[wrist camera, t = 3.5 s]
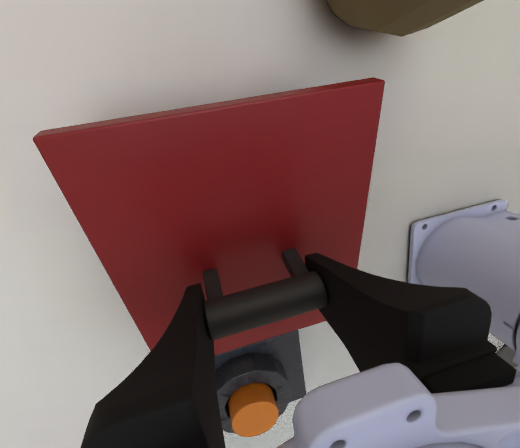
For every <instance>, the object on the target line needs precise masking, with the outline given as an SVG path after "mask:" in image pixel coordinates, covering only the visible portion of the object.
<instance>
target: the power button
mask: <svg viewBox="0 0 520 448" xmlns="http://www.w3.org/2000/svg"><path fill="white" fill-rule="evenodd" d="M228 406H229V412H230V418H231V425H232V429H233V430H234V432H235V433H236V434H238V435H240V436H243V437H253V436H257V435H260V434H262V433H264V432H266V431H268V430H269V429H270V428H271V427H272V426H273V425H274V424H275V423H276V421H277V419H278V415H279V411H278V408H277V404H276V401H275V398H274V395H273V392H272V390H271V388H270V387H269V386H268V385H266V384H264V383H257V382H254V383H251V384H248V385H245V386H242V387H240V388H238V389H237V390H236V391H235V392H234V393H233V394H232V395H231V397H230V399H229V403H228Z"/></svg>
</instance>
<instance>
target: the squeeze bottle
mask: <svg viewBox="0 0 520 448" xmlns="http://www.w3.org/2000/svg"><path fill="white" fill-rule="evenodd" d="M481 1H483V0H327V2H328V4H329V6H330V8H331V10H332V11H333V13H334V14H335V15H336V16H337V17H339V18H340V19H341V20H342V21H344V22H345V23H346V24H347V25H349V26H354V27H358V28H363V29H367V30H372V31H377V32H382V33H387V34H392V35H397V36H405V35H408V34H411V33H414V32H417V31H420V30H423V29H426V28H428V27H430V26H432V25H434V24H436V23H439V22H441V21H443V20H445V19H447V18H449V17H451V16H453V15H455V14H457V13H459V12H461V11H463V10H465V9H467V8H469V7H471V6H473V5H475V4H477V3H479V2H481Z"/></svg>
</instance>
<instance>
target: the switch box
mask: <svg viewBox="0 0 520 448" xmlns="http://www.w3.org/2000/svg"><path fill="white" fill-rule="evenodd" d="M215 375H216V389H217V397H218V403H219V410H220V417H221V423H222V429H223V430H224V431H226V432H228V433H235V432H234V430H233V429H232V425H231V418H230V412H229V406H228V403H229V399H230V397H231V395H232V394H233V393H234V392H235V391H236V390H237V389H238V388H240V387H242V386H245V385H248V384H251V383H254V382H257V383H264V384H266V385H268V386H269V387H270V388H271V390H272V392H273V395H274V398H275V401H276V404H277V408H278V411H279V415H278V417H279V416H280V415H281V414H282V413H283V412H284V411H285V409H286V407H287V405H288V403H289V402H291V401H294V400H297V399H300V398H303V397H304V396H305V394H306V390H305V382H304V374H303V366H302V358H301V351H300V343H299V335H298V330H295V331H291V332H288V333H285V334H282V335H279V336H275V337H272V338H269V339H266V340H262V341H259V342H256V343H253V344H250V345H246V346H243V347H240V348H237V349H234V350H230V351H227V352H224V353H221V354H218V355H215Z"/></svg>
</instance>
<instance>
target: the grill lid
mask: <svg viewBox="0 0 520 448" xmlns="http://www.w3.org/2000/svg"><path fill="white" fill-rule="evenodd" d="M384 84H385V81H384V80H381V79H377V78H367V79H361V80H355V81H349V82H342V83H336V84H330V85H324V86H317V87H311V88H305V89H299V90H293V91H286V92H280V93H274V94H268V95H261V96H255V97H249V98H243V99H237V100H230V101H224V102H218V103H212V104H205V105H199V106H193V107H187V108H181V109H174V110H168V111H162V112H156V113H149V114H143V115H137V116H131V117H125V118H118V119H112V120H106V121H100V122H93V123H87V124H81V125H75V126H68V127H62V128H56V129H50V130H44V131H40V132H39V133H38V134H37V135H36V136H35V137H33V141H34V143H35V144H36V146H37V148H38V150H39V151H40V153H41V155H42V157H43V159H44V160H45V162H46V164H47V166H48V168H49V169H50V171H51V173H52V175H53V177H54V178H55V180H56V182H57V184H58V186H59V187H60V189H61V191H62V193H63V195H64V196H65V198H66V200H67V202H68V203H69V205H70V207H71V209H72V211H73V212H74V214H75V216H76V218H77V220H78V221H79V223H80V225H81V227H82V229H83V230H84V232H85V234H86V236H87V238H88V239H89V241H90V243H91V245H92V247H93V248H94V250H95V252H96V254H97V255H98V257H99V259H100V261H101V263H102V264H103V266H104V268H105V270H106V272H107V273H108V275H109V277H110V279H111V281H112V282H113V284H114V286H115V288H116V290H117V291H118V293H119V295H120V297H121V299H122V300H123V302H124V304H125V306H126V307H127V309H128V311H129V313H130V315H131V316H132V318H133V320H134V322H135V324H136V325H137V327H138V329H139V331H140V333H141V334H142V336H143V338H144V340H145V342H146V343H147V345H148V347H149V349H150V351H151V350H152V349H153V348H154V347H155V345H156V344H157V343H158V341H159V340H160V338H161V337H162V335H163V334H164V332H165V331H166V329H167V327H168V325H169V324H170V322H171V320H172V318H173V317H174V315H175V313H176V310H177V308H178V306H179V304H180V302H181V300H182V297H183V295H184V292H185V289H186V288H187V286H191V285H195V284H198V283H201V286H202V290H203V293H204V297H205V301H204V304H203V306H204V313H205V318H206V323H207V327H208V331H209V335H210V338H211V339H212V340H214V355H218V354H221V353H224V352H227V351H230V350H234V349H237V348H240V347H243V346H246V345H250V344H253V343H256V342H259V341H262V340H266V339H269V338H272V337H275V336H279V335H282V334H285V333H288V332H291V331H295V330H298V329H301V328H304V327H307V326H311V325H314V324H317V323H320V322H323V321H327V320H326V319H325V318H324V316H323V315H322V313H321V312H320V311H319V309H320V308H323V307H325V306H326V305H327V302H328V299H327V292H326V288H325V285H324V283H323V280H322V279H321V277H320V275H319V274H318V273H317V272H316V271H311V272H309V270H308V269H307V267H306V265H305V255H309V254H313V253H319V254H321V255H324V256H326V257H328V258H331V259H333V260H335V261H338V262H340V263H342V264H345V265H347V266H350V267H352V268H355V269H357V266H358V260H359V253H360V246H361V239H362V233H363V226H364V219H365V212H366V206H367V199H368V192H369V185H370V179H371V172H372V165H373V158H374V152H375V145H376V138H377V131H378V125H379V118H380V111H381V104H382V98H383V91H384Z"/></svg>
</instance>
